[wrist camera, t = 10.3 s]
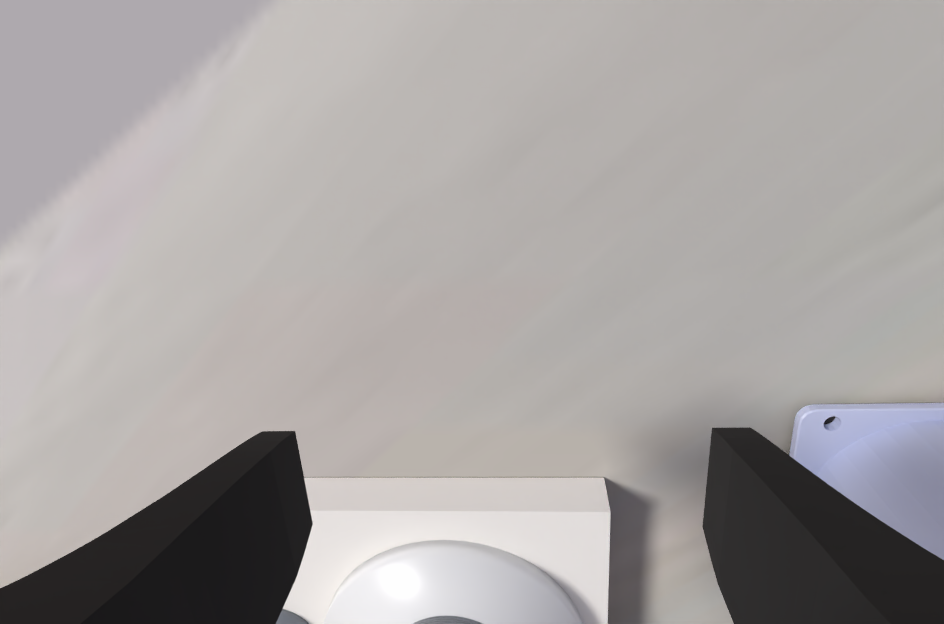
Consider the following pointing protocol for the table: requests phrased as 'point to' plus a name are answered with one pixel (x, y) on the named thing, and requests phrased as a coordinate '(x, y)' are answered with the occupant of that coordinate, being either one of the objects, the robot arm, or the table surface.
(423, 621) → the cylinder
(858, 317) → the table surface
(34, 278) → the table surface
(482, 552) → the kitchen scale
